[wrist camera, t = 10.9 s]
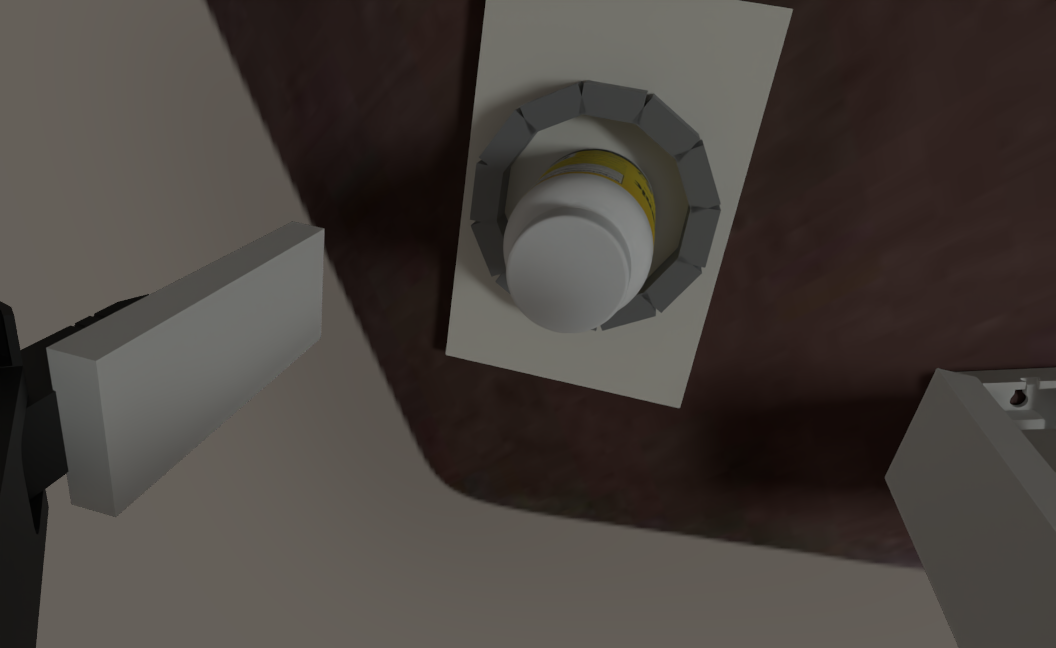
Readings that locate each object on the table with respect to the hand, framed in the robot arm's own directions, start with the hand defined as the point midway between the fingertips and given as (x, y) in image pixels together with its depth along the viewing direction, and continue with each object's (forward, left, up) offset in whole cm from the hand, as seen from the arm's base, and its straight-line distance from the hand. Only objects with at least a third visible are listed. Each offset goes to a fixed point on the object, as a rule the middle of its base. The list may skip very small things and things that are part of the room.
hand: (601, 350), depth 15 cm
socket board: (+1, -2, -18) cm, 18 cm away
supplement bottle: (+1, -2, -17) cm, 17 cm away
